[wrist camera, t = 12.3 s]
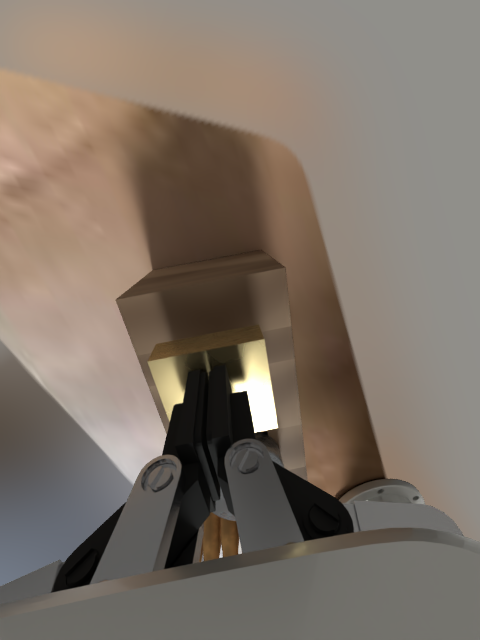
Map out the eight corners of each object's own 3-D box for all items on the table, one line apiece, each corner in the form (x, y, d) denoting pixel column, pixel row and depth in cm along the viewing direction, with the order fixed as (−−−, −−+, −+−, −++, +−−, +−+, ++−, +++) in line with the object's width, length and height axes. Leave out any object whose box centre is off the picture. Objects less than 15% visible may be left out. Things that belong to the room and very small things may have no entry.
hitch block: (284, 418, 28) (308, 491, 20) (202, 433, 27) (197, 513, 20) (261, 249, 21) (285, 267, 13) (152, 270, 21) (115, 299, 13)
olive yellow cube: (262, 374, 17) (277, 427, 13) (188, 389, 17) (178, 447, 13) (251, 304, 15) (264, 339, 11) (167, 320, 15) (147, 361, 11)
